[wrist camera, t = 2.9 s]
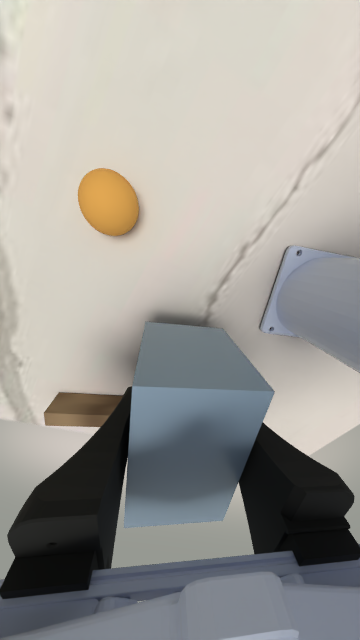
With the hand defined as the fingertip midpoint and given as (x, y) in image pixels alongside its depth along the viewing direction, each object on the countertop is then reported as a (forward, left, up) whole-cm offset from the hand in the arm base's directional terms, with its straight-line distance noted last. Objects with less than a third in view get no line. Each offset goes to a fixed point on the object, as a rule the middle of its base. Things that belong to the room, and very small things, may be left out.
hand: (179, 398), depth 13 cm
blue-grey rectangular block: (0, 0, -2) cm, 2 cm away
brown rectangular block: (+6, +6, -6) cm, 10 cm away
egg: (+6, -12, -4) cm, 14 cm away
